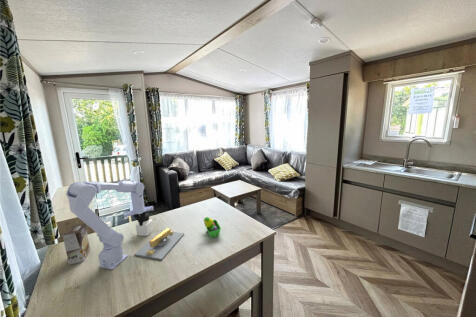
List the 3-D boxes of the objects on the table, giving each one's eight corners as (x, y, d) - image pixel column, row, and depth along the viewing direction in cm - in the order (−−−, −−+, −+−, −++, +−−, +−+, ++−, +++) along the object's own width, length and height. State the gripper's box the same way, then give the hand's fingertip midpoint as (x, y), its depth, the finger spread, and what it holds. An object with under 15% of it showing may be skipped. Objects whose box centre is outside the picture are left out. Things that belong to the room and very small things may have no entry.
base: (161, 260, 94) (161, 256, 94) (134, 255, 98) (134, 251, 97) (184, 234, 115) (183, 231, 114) (161, 231, 119) (160, 228, 118)
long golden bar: (146, 246, 101) (146, 239, 101) (164, 232, 113) (164, 227, 112) (156, 249, 99) (156, 243, 98) (174, 235, 110) (173, 229, 110)
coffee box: (84, 261, 94) (78, 232, 91) (68, 265, 92) (61, 235, 89) (91, 249, 103) (85, 223, 100) (76, 253, 101) (70, 225, 97)
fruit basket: (221, 236, 112) (220, 219, 110) (206, 240, 109) (205, 222, 107) (216, 226, 123) (215, 210, 120) (202, 229, 120) (201, 213, 117)
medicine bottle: (154, 229, 121) (151, 212, 119) (147, 236, 114) (145, 217, 112) (143, 228, 122) (141, 211, 119) (136, 235, 115) (134, 217, 112)
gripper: (123, 209, 97) (127, 232, 100) (153, 201, 105) (156, 223, 108) (122, 204, 103) (125, 226, 105) (150, 197, 111) (153, 218, 114)
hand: (141, 225), depth 107 cm, fingers closed
